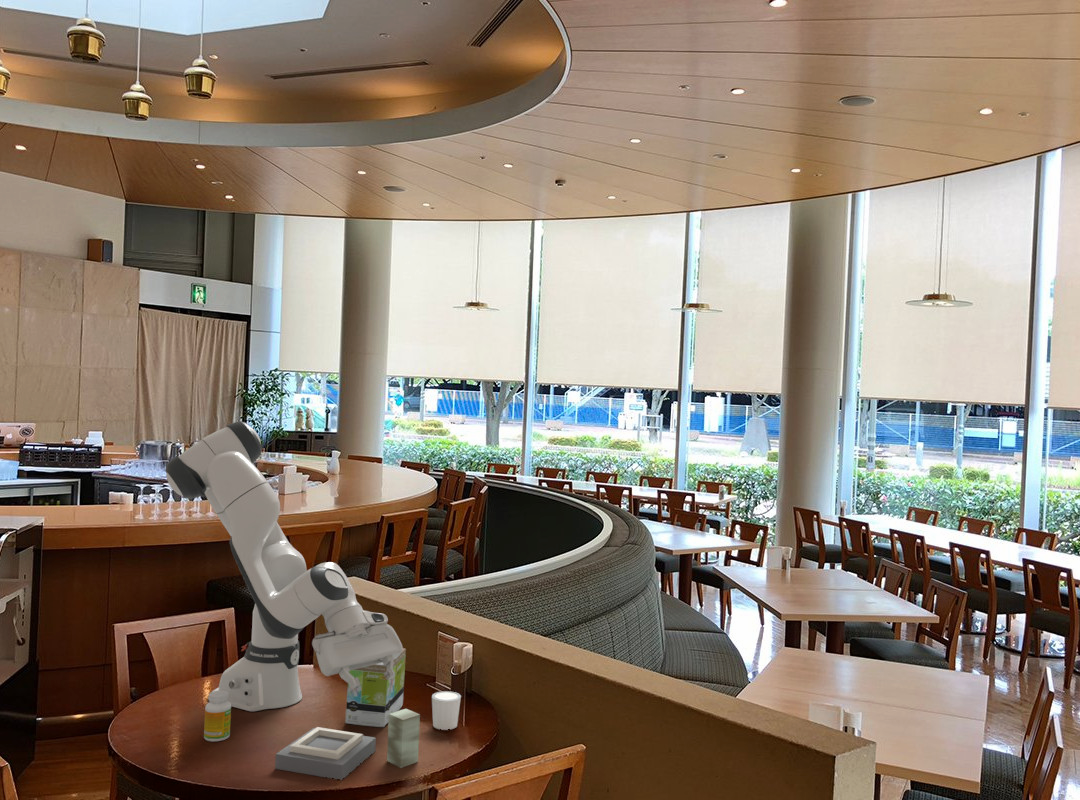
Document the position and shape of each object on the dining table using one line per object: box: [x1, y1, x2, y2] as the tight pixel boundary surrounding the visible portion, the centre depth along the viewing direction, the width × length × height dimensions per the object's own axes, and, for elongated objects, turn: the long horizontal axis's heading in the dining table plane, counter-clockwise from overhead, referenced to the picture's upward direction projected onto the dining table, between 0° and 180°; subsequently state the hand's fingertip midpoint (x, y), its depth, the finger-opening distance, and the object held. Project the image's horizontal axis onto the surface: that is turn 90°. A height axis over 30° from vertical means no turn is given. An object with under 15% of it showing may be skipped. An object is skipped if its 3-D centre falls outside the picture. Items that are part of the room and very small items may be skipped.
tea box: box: [344, 647, 407, 728], centre depth 208 cm, size 15×10×15 cm
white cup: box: [431, 690, 462, 731], centre depth 204 cm, size 7×7×7 cm
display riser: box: [274, 726, 377, 781], centre depth 182 cm, size 15×15×4 cm
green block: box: [386, 708, 421, 769], centre depth 183 cm, size 5×5×10 cm
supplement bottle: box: [203, 690, 232, 742], centre depth 191 cm, size 5×5×10 cm
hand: (374, 682), depth 189 cm, fingers open, 8 cm apart
